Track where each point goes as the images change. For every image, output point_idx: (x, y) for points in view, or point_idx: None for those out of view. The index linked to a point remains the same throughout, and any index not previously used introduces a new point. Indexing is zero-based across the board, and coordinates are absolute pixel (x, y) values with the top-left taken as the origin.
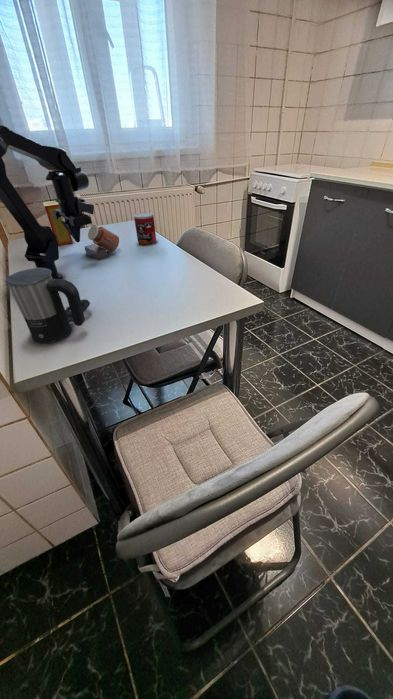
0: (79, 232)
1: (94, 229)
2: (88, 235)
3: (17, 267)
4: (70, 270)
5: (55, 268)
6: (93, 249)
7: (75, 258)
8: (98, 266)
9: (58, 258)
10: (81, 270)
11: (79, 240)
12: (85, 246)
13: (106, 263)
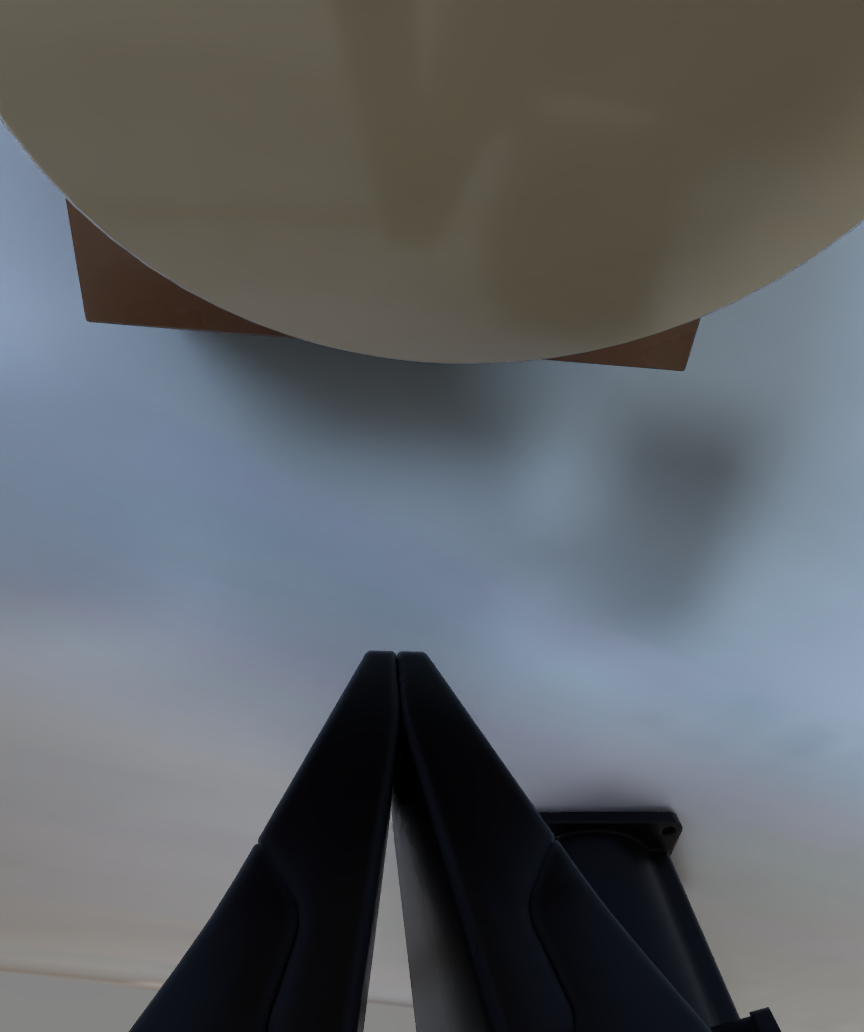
0: (563, 872)
1: (672, 30)
2: (240, 296)
3: (45, 944)
4: (574, 714)
5: (675, 926)
6: None
7: (226, 516)
8: (804, 473)
9: (772, 1015)
10: (690, 651)
11: (438, 680)
12: (106, 302)
13: (847, 334)
